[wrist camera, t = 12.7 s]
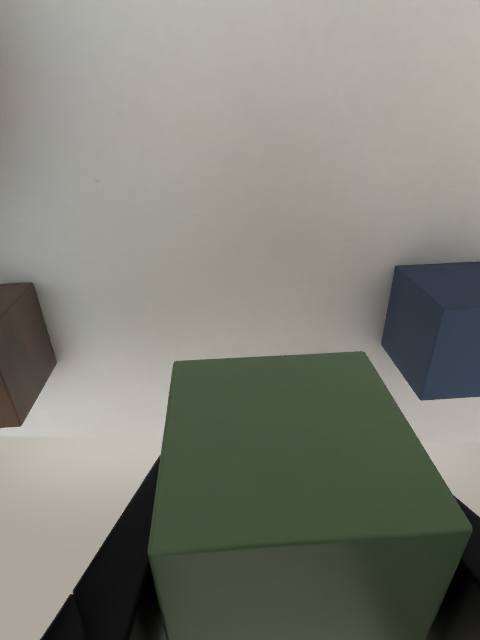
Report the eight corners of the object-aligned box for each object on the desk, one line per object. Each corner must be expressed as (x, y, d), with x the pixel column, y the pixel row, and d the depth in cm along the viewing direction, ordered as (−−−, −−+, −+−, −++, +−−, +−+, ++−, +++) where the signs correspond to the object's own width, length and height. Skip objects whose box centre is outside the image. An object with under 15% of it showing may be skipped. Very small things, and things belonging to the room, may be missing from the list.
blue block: (462, 340, 21) (519, 394, 18) (380, 345, 21) (419, 401, 17) (486, 261, 19) (557, 303, 15) (394, 265, 19) (443, 309, 15)
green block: (343, 480, 12) (413, 675, 8) (188, 490, 11) (177, 697, 7) (365, 349, 9) (476, 528, 5) (172, 359, 9) (145, 553, 5)
